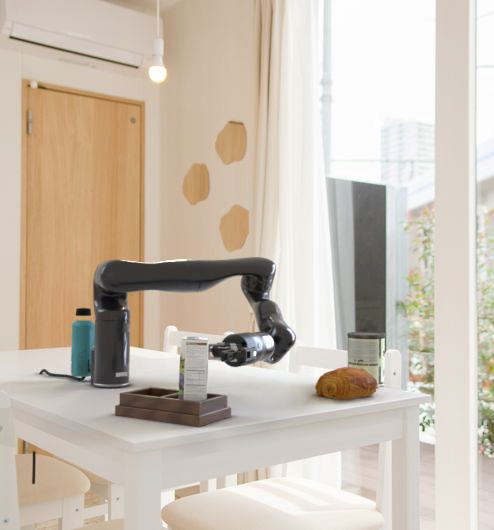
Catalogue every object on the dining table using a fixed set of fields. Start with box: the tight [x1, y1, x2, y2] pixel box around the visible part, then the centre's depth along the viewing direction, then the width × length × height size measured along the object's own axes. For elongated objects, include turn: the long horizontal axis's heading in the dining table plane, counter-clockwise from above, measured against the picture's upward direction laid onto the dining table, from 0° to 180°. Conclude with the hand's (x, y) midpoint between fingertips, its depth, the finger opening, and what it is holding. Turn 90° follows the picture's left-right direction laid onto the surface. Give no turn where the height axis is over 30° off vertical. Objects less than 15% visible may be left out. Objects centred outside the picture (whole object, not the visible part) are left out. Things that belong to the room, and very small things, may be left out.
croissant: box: [315, 366, 378, 401], centre depth 173 cm, size 14×16×8 cm
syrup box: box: [178, 336, 210, 401], centre depth 143 cm, size 6×6×14 cm
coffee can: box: [346, 331, 386, 388], centre depth 192 cm, size 10×10×14 cm
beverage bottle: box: [70, 307, 95, 378], centre depth 192 cm, size 6×7×20 cm
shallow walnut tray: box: [114, 386, 232, 428], centre depth 145 cm, size 21×12×4 cm, turn 61°
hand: (205, 355), depth 147 cm, fingers open, 8 cm apart
